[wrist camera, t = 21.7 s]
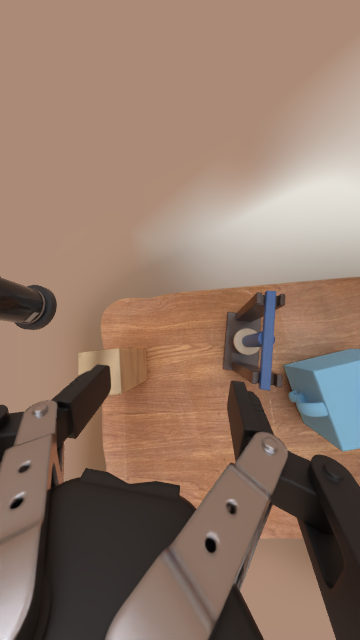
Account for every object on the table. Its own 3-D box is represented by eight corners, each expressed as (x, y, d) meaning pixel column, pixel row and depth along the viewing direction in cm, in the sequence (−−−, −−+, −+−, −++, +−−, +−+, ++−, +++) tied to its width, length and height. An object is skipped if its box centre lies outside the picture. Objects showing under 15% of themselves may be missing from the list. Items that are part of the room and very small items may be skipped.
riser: (118, 381, 42) (78, 398, 28) (117, 351, 43) (77, 353, 30) (148, 379, 42) (121, 394, 28) (145, 348, 43) (119, 348, 29)
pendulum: (230, 373, 35) (244, 386, 23) (236, 307, 37) (252, 289, 25) (257, 377, 34) (286, 393, 23) (262, 310, 36) (291, 292, 24)
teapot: (284, 422, 37) (333, 465, 23) (266, 367, 39) (301, 377, 25) (398, 397, 35) (521, 427, 22) (373, 341, 37) (472, 337, 24)
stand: (222, 368, 40) (237, 383, 23) (227, 313, 42) (244, 289, 25) (256, 372, 39) (296, 391, 22) (259, 316, 41) (299, 293, 24)
